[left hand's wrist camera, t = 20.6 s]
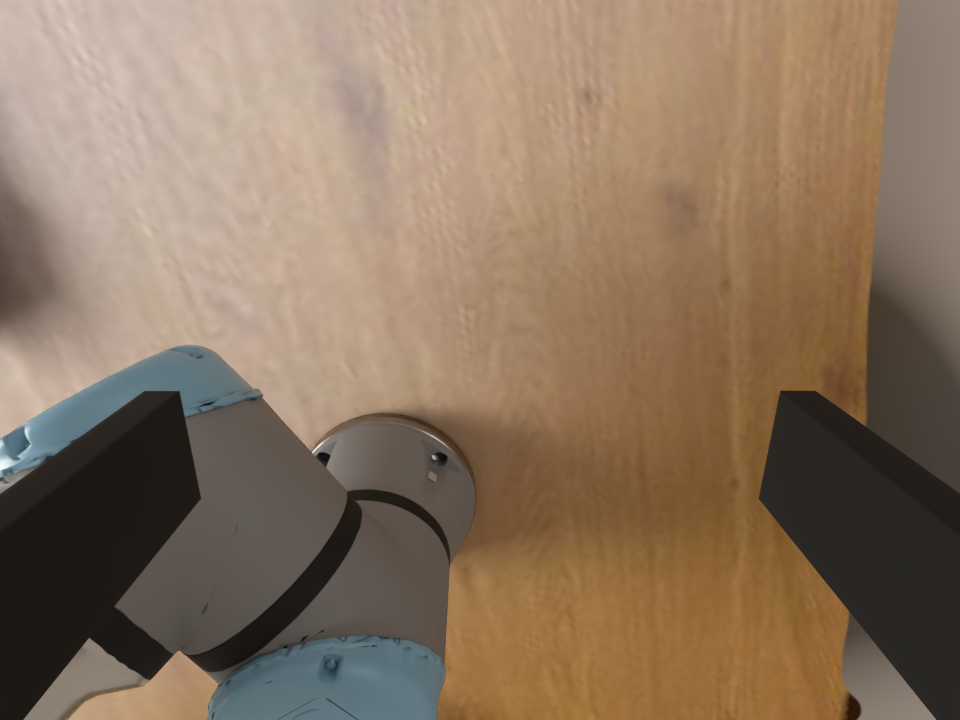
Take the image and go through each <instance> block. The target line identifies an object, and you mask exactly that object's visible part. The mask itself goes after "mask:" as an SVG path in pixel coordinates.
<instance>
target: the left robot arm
mask: <svg viewBox="0 0 960 720" xmlns="http://www.w3.org/2000/svg"><path fill="white" fill-rule="evenodd" d="M262 397H263V394H262V393H261V392H260V391H259V390H258V389H253V388H252V387H251V386H250V385H249V384H248V383H247V382H246V381H245V380H244V379H243V378H242V377H241V376H240V375H239V374H238V373H237V372H236V371H234V370H233V369H232V368H231V367H230V366H229V365H228V364H227V363H226V362H225V361H224V360H223V359H222V358H221V357H220V356H219V355H218V354H217V353H215V352H214V351H212V350H210V349H208V348H205V347H201V346H196V345H185V346H178V347H174V348H171V349H168V350H165V351H163V352H160V353H158V354H155V355H153V356H151V357H149V358H146V359H144V360H142V361H140V362H137V363H135V364H133V365H131V366H129V367H127V368H125V369H123V370H121V371H119V372H117V373H115V374H113V375H111V376H109V377H107V378H105V379H103V380H101V381H99V382H97V383H95V384H93V385H92V386H90V387H88V388H86V389H84V390H82V391H80V392H78V393H76V394H75V395H73V396H71V397H69V398H67V399H65V400H64V401H62V402H60V403H58V404H56V405H55V406H53V407H51V408H49V409H47V410H46V411H44V412H42V413H41V414H39V415H37V416H36V417H34V418H32V419H31V420H29V421H28V422H27V423H26V424H25V425H23V426H20V427H19V428H17V429H15V430H14V431H12V432H11V433H9V434H8V435H6V436H4V437H2V438H0V720H68V719H69V718H70V717H71V716H72V714H73V713H74V712H75V711H76V710H77V709H78V708H79V707H80V706H81V705H82V704H83V703H84V702H85V701H87V700H89V699H91V698H94V697H96V696H98V695H103V694H108V693H113V692H118V691H123V690H128V689H133V688H138V687H143V686H144V685H145V684H146V683H148V682H149V681H150V680H151V679H152V678H153V677H154V676H155V675H156V674H157V672H158V671H159V670H160V669H161V668H162V667H163V666H164V665H165V664H166V663H167V662H168V661H169V659H170V658H171V657H172V656H173V655H174V654H175V653H176V652H177V651H179V650H180V651H181V652H182V653H183V654H184V655H186V656H187V657H188V658H190V659H191V660H192V661H193V662H194V663H195V664H197V665H198V666H199V667H200V668H201V669H202V670H204V671H205V672H206V673H207V674H208V675H209V676H210V677H212V678H213V679H214V680H215V681H216V682H217V683H218V684H219V685H218V687H217V689H216V690H215V692H214V694H213V695H212V697H211V700H210V703H209V706H208V713H209V717H208V720H436V719H437V712H438V705H439V698H440V691H441V690H442V686H443V683H444V681H445V666H444V662H445V643H446V625H447V606H448V587H449V568H450V563H451V562H452V560H453V558H454V557H455V555H456V553H457V551H458V550H459V548H460V546H461V545H462V543H463V541H464V540H465V538H466V536H467V534H468V532H469V530H470V528H471V525H472V522H473V519H474V514H475V504H476V488H475V480H474V475H473V472H472V469H471V467H470V464H469V462H468V460H467V458H466V457H465V455H464V454H463V452H462V451H461V449H460V448H459V447H458V446H457V445H456V443H455V442H454V441H452V440H451V439H450V438H449V437H448V436H447V435H446V434H444V433H443V432H442V431H440V430H439V429H437V428H436V427H434V426H432V425H430V424H428V423H426V422H423V421H421V420H418V419H415V418H412V417H408V416H403V415H397V414H372V415H365V416H361V417H357V418H354V419H351V420H349V421H346V422H344V423H342V424H340V425H338V426H337V427H335V428H333V429H332V430H331V431H329V432H328V433H327V434H326V435H325V436H323V437H322V438H321V439H320V441H319V442H318V443H317V444H316V445H315V447H314V448H313V450H312V451H310V450H309V449H308V448H307V447H306V446H305V445H304V444H303V442H302V441H301V440H300V439H299V438H298V437H297V436H296V435H295V434H294V433H293V432H292V431H291V429H290V428H289V427H288V426H287V425H286V424H285V423H284V422H283V421H282V420H281V418H280V417H279V416H278V415H277V414H276V413H275V412H274V411H273V409H272V408H271V407H270V406H269V405H268V404H267V403H266V402H265V400H264V399H263V398H262ZM759 499H760V501H761V502H762V503H763V504H764V506H765V507H766V508H767V509H768V511H769V512H770V513H771V514H772V516H773V517H774V518H775V519H776V521H777V522H778V523H779V524H780V526H781V527H782V528H783V529H784V531H785V532H786V533H787V534H788V536H789V537H790V538H791V539H792V541H793V542H794V543H795V544H796V546H797V547H798V548H799V549H800V550H801V552H802V553H803V554H804V555H805V557H806V558H807V559H808V560H809V562H810V563H811V564H812V565H813V567H814V568H815V569H816V570H817V572H818V573H819V574H820V575H821V577H822V578H823V579H824V580H825V582H826V583H827V584H828V585H829V587H830V588H831V589H832V590H833V592H834V593H835V594H836V595H837V597H838V598H839V599H840V600H841V601H842V603H843V604H844V605H845V606H846V608H847V609H848V610H849V611H850V613H851V614H852V615H853V616H854V618H855V619H856V620H857V621H858V623H859V624H860V625H861V626H862V628H863V629H864V630H865V631H866V633H867V634H868V635H869V636H870V638H871V639H872V640H873V641H874V643H875V644H876V645H877V646H878V648H879V649H880V650H881V651H882V652H883V654H884V655H885V656H886V657H887V659H888V660H889V661H890V662H891V664H892V665H893V666H894V667H895V669H896V670H897V671H898V672H899V674H900V675H901V676H902V677H903V679H904V680H905V681H906V682H907V684H908V685H909V686H910V687H911V689H912V690H913V691H914V692H915V693H916V695H917V696H918V697H919V698H920V700H921V701H922V702H923V704H924V705H925V706H926V707H927V709H928V710H929V711H930V712H931V713H932V715H933V716H934V717H935V718H936V720H960V494H959V493H958V492H957V491H955V490H954V489H952V488H951V487H949V486H948V485H947V484H945V483H944V482H942V481H941V480H940V479H938V478H937V477H935V476H934V475H933V474H931V473H930V472H928V471H927V470H926V469H924V468H923V467H921V466H920V465H919V464H917V463H916V462H914V461H913V460H912V459H910V458H909V457H907V456H906V455H905V454H903V453H902V452H900V451H899V450H898V449H896V448H895V447H893V446H892V445H891V444H889V443H888V442H886V441H885V440H884V439H882V438H881V437H879V436H878V435H877V434H875V433H874V432H872V431H871V430H870V429H868V428H867V427H865V426H864V425H863V424H861V423H860V422H858V421H857V420H856V419H854V418H853V417H851V416H850V415H849V414H847V413H846V412H844V411H843V410H842V409H840V408H839V407H837V406H836V405H835V404H833V403H832V402H830V401H829V400H828V399H826V398H825V397H823V396H822V395H821V394H819V393H818V392H816V391H780V395H779V400H778V405H777V410H776V415H775V420H774V425H773V430H772V435H771V440H770V445H769V450H768V455H767V460H766V465H765V470H764V475H763V480H762V485H761V490H760V495H759Z"/></svg>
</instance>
